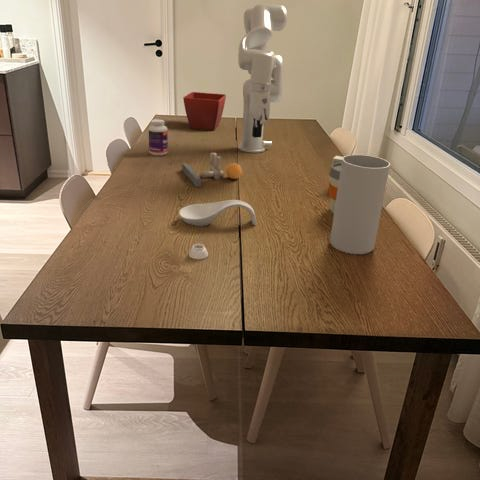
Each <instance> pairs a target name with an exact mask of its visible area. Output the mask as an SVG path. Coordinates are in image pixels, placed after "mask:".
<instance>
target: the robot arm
mask: <svg viewBox="0 0 480 480" xmlns="http://www.w3.org/2000/svg"><path fill="white" fill-rule="evenodd" d="M287 22H288V11H287V8H286V7H285V6H284V5H282V4H281V5H280V4H271V3H269V4H268V3H260V4H257V5H255V6H254V7H251V8H248V9H246V10H245V11H244V13H243V26H244V29H245V35H244V36H243V37H242V38H241V40H240V43H239V44H238V45H239V46H238V55H237V57H238V59H237V61H238V66H239V68H240V69H241V70H244V71H247V73H248V74H249V75H250V78H249V79H247V80H245V81H244V82H243V85H242V95H243V113H242V115H243V116H242V117H243V119H242V134H241V144H239V145H238V146H237V148H238V150H239V151H241V152H244V153H252V154H257V153H258V154H259V153H264V152H265V150H266V146H272V145H273V143H272V142H273V141H272V140H271V141H267V140H264V138H263V137H264V125H265V123H266V121H269V120H270V116H271V115H270V114H271V103H279V102H280V101H281V99H282V96H283V84H284V59H283V57H282V56H281V55H280V54H275V52H274V51H273V50H268V46H269V42H270V41H271V39H272V37H273V32H281V31H283V30H284V29H285V27H286V26H287Z"/></svg>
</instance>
